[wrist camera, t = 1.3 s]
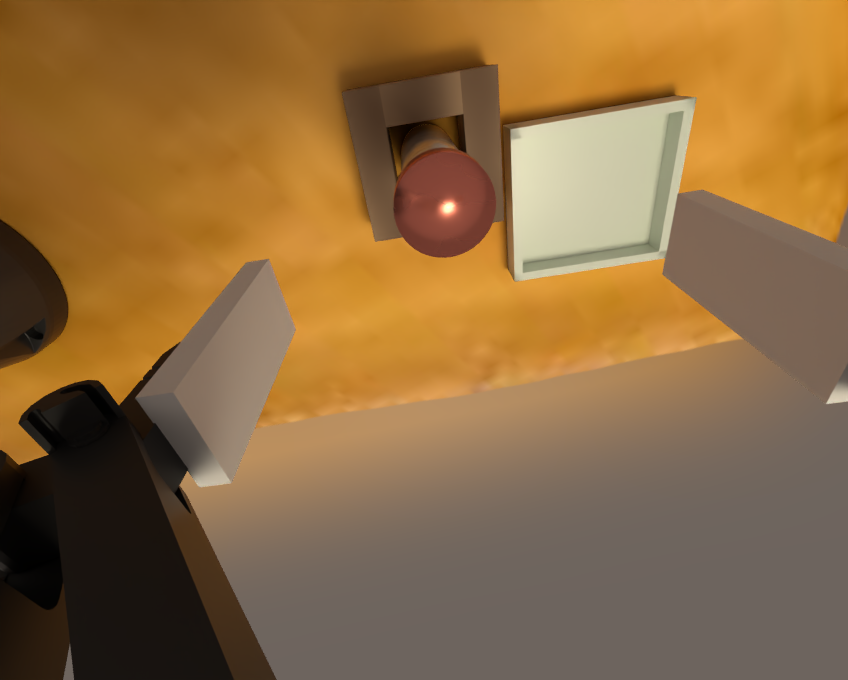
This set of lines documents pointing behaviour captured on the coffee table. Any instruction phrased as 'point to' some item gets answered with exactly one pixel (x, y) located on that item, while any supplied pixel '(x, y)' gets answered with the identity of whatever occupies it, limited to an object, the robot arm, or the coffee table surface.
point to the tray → (594, 186)
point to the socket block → (415, 102)
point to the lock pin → (441, 195)
